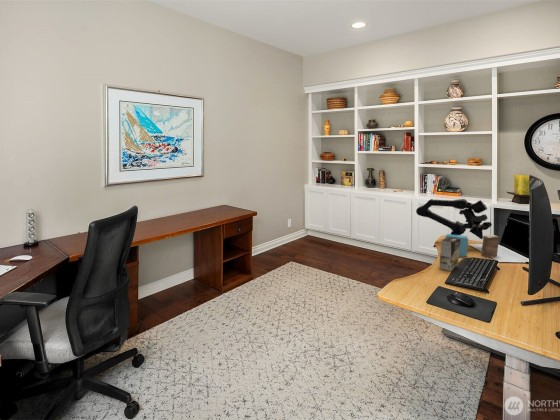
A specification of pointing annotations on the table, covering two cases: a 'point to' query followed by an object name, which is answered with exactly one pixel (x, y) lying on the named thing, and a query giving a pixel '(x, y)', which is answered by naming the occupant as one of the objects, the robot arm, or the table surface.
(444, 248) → the coffee box
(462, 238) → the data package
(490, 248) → the walnut block
